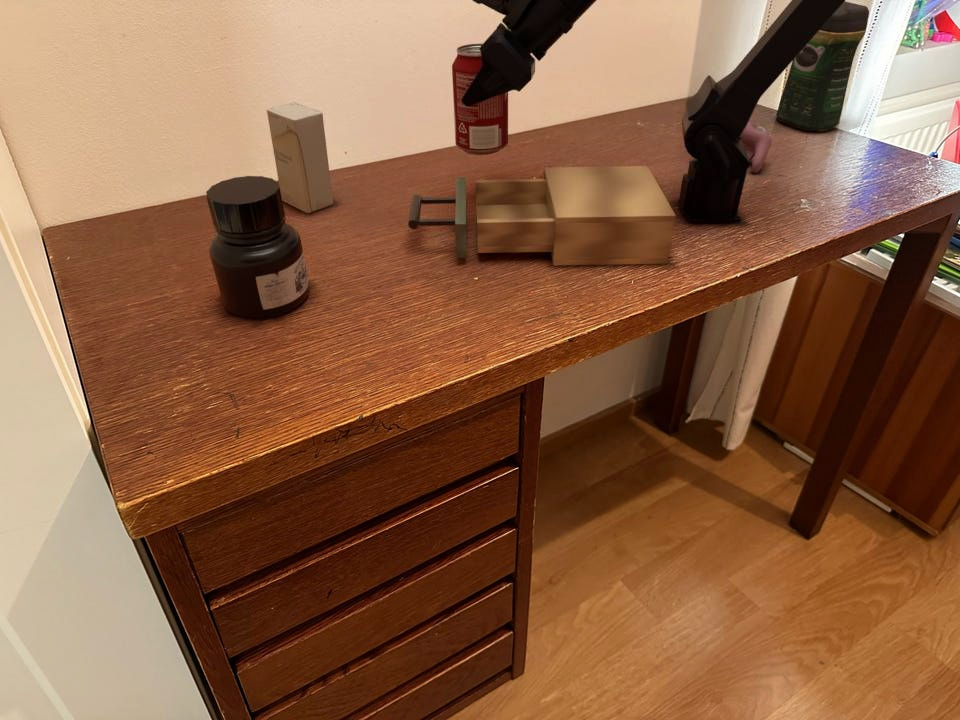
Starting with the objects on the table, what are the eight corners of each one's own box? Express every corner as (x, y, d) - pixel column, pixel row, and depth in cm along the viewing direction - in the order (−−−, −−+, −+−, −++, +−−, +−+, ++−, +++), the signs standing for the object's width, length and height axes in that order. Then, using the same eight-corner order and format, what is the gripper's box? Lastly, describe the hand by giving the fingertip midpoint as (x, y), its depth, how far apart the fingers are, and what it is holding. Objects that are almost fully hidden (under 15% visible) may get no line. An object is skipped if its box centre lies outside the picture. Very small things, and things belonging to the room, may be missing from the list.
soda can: (505, 158, 86) (505, 55, 79) (451, 157, 87) (447, 55, 80) (510, 139, 91) (510, 42, 84) (459, 138, 92) (455, 42, 85)
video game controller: (762, 177, 101) (778, 128, 100) (758, 173, 97) (775, 122, 96) (697, 164, 106) (711, 117, 104) (690, 159, 102) (705, 111, 100)
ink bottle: (288, 326, 68) (265, 214, 61) (206, 318, 70) (173, 207, 62) (323, 277, 76) (306, 172, 69) (248, 271, 77) (223, 167, 70)
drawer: (408, 258, 77) (405, 224, 75) (414, 209, 88) (412, 177, 86) (561, 256, 78) (564, 222, 75) (550, 207, 88) (552, 175, 86)
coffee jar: (846, 128, 114) (884, 3, 102) (809, 135, 111) (845, 8, 100) (802, 112, 121) (833, -7, 110) (766, 118, 118) (795, -3, 107)
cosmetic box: (281, 201, 92) (263, 109, 85) (308, 191, 95) (293, 101, 88) (309, 214, 89) (292, 119, 82) (336, 204, 92) (323, 110, 84)
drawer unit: (553, 265, 78) (556, 217, 74) (541, 211, 89) (543, 167, 86) (667, 263, 78) (676, 215, 74) (641, 209, 89) (647, 165, 86)
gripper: (525, -72, 82) (440, 28, 90) (499, -53, 67) (400, 64, 76) (587, 2, 85) (499, 92, 94) (575, 36, 71) (472, 138, 79)
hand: (469, 95), depth 85 cm, fingers closed on soda can, 7 cm apart
